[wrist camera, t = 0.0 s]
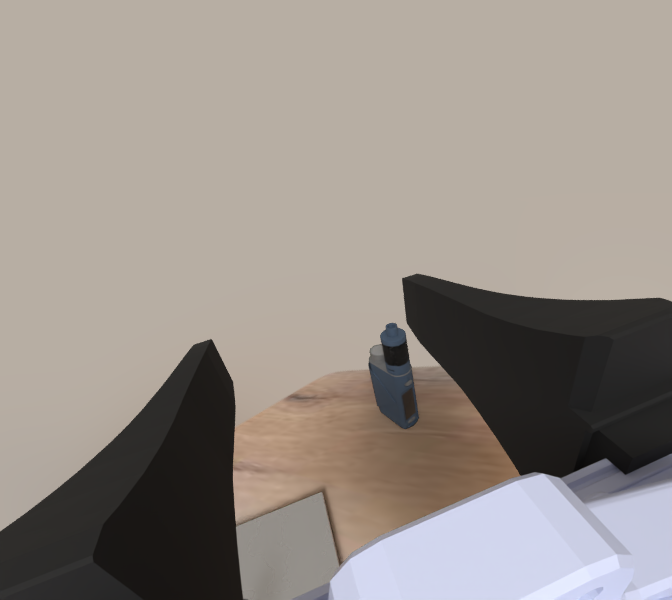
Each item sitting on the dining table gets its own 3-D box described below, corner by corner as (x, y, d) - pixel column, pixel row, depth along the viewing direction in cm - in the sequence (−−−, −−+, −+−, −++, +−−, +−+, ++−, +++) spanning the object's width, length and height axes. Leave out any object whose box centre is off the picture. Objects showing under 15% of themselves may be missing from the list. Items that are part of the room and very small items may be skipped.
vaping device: (407, 434, 33) (390, 337, 27) (373, 408, 37) (353, 319, 32) (424, 419, 34) (411, 323, 29) (389, 396, 38) (373, 308, 33)
